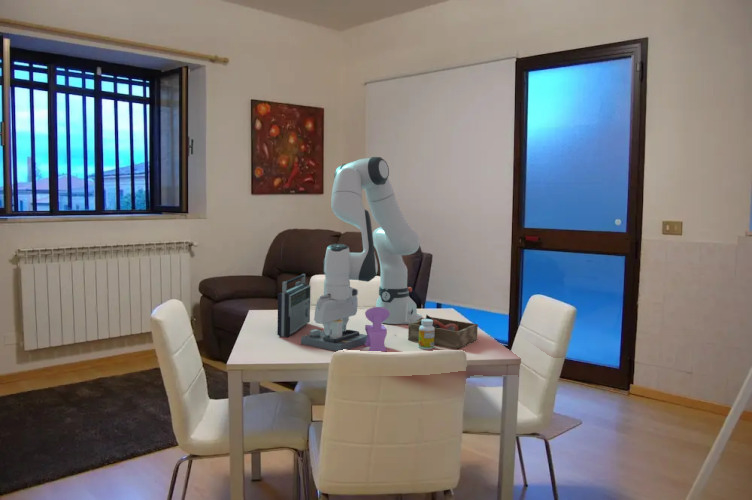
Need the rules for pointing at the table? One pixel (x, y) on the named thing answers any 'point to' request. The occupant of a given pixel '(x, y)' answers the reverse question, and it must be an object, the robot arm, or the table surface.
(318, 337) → the console
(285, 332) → the radio
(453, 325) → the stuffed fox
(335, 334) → the white cylinder
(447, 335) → the wooden tray
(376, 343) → the toy chair
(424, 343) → the supplement bottle
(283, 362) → the table surface
